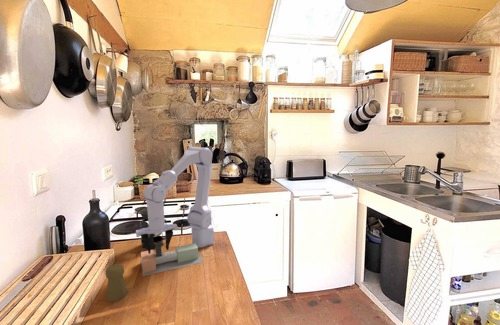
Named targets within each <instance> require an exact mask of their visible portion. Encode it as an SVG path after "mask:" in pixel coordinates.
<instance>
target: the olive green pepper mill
mask: <svg viewBox="0 0 500 325" xmlns="http://www.w3.org/2000/svg"><path fill="white" fill-rule="evenodd" d="M124 273H125V268H124V266H123V264H120V263H115V264H111V265H108V267H107V268H106V270H105V277H106V278H107V291H106V300H107V301H108V302H110V303H115V302H119V301H121V300H123V299H125V298H126V297H127V295H128V290H127V287H126V283H125V279H124V276H123V275H124Z"/></svg>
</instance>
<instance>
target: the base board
mask: <svg viewBox="0 0 500 325" xmlns="http://www.w3.org/2000/svg"><path fill="white" fill-rule="evenodd" d="M200 263H201V264H202V263H204V261H203V258H202V256H201V255H200V254H199V252H198V258H196V259H192V260H187V261H183V262H178V261H177V260H174V261H169V262H165V263H160V264H156V270H154V271H150V272H145V273H143V268H142V259H140V264H141V272H142V277H144V276H149V275H153V274H154V275H155V274H158V273H162V272H163V273H164V272H166V271H171V270H175V269H179V268H183V267H188V266H192V265H196V264H197V265H198V264H200Z"/></svg>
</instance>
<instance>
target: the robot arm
mask: <svg viewBox="0 0 500 325" xmlns="http://www.w3.org/2000/svg"><path fill="white" fill-rule="evenodd" d="M213 155H214V154H213V152H212V151H211V149H210V148H208V147H202V146H201V147H199V146H189V147H188V148H187V149H186V150H184V153H183V155H182V157H181V158H179V160H178V161H177V162H176V164H175V165H174V166H173V167H172V168H171V169H169V170H167V169H166V170H165V171H164V170H163V172H161V175H160V176H159V177H158V178H157V179H156V180H154V181H153V182H152V184H148V185H147V186H146V187H145V188H144V191H143V193H142V196H143V199H144V198H145V199H144V200H145V201H146V206H147V207H146V208H147V210H148V221H147V222H148V224H147V225H149V227H147V228H141V229H140V228H139V229H136V230H135V235H136V238H139V237H140V238H141V236H142V240H143V242H144V243H145V245H146V247H147V249H148V250H147V249H146V250H147V251H148V253H149V254H150V253H151V251H150V243H149V235H148V234H154V233H155V234H158V233H161V232H162V233H164V234H165V235H164V236H165V237H166V240H165V249H166V251H169V250H170V249H169V247H170V243H171V239H172V237H174V236H173V235H174V231H178V225H177V223H171V224H169V223H168V224H167V223H165V221H164V219H165V207H164V205H165V204H164V200H166V197H167V193H168V191H169V190H170V189H171V188H172V187H173V186H174V185H175V184H176V183H177V182H178V176H179V175H180V174H182V173H183V172H184V171H185V170H186V169H187V168H188V167H189V166H190V165H193V164H194V165H196V167H197V168H198V176H197V183H196V190H195V200H194V204H193V205H191V207H189V212H188V214H187V223H188V224H190V227H191V244H194V243H196V245H197V247H198V248H205V247H207V246H211V245H214V244H215V231H214V226H213V224H211V223H212V221H213V220H212V210H211V209H210V207H209V206H208V201H209V195H210V193H209V192H210V186H211V179H212V177H211V176H212V172H213V163H212V161H213ZM162 233H161V234H162Z"/></svg>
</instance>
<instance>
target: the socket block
mask: <svg viewBox="0 0 500 325" xmlns="http://www.w3.org/2000/svg"><path fill="white" fill-rule="evenodd" d="M150 251H151V253H150V254H149V253H148V250H145V251H141V252H140V256H141V257H140V258H141V259H140V260H142V266H141V269H142V268H143V273H145V272H150V271H154V270H156V260H155V255H154V254H155V251H154V249H151V250H150Z"/></svg>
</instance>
